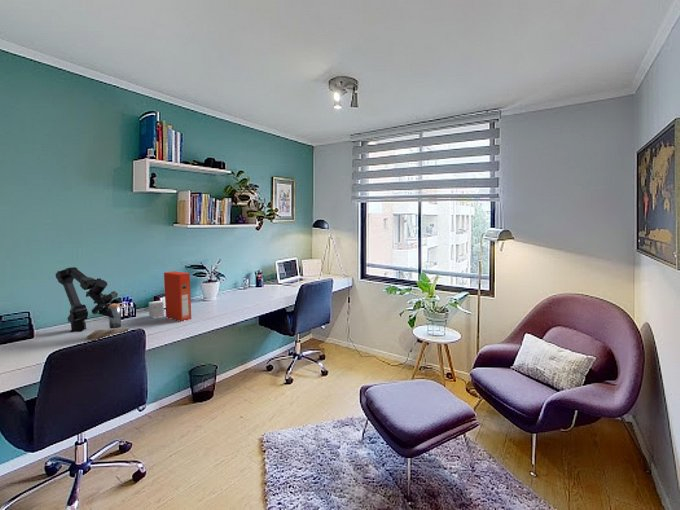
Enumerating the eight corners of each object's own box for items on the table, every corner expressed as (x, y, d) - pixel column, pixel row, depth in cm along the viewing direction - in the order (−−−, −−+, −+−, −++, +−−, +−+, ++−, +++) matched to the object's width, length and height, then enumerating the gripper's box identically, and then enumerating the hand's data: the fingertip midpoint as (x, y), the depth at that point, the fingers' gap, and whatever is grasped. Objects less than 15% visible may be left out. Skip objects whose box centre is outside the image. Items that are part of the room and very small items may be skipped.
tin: (107, 328, 210) (106, 308, 209) (111, 325, 216) (110, 306, 214) (119, 328, 211) (118, 308, 210) (122, 325, 217) (122, 305, 216)
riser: (87, 339, 206) (86, 336, 205) (95, 333, 216) (95, 330, 216) (122, 337, 210) (121, 334, 209) (128, 331, 220) (128, 328, 220)
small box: (160, 314, 260) (160, 300, 259) (164, 316, 256) (163, 301, 255) (148, 317, 253) (148, 302, 252) (152, 318, 250) (151, 303, 249)
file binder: (180, 321, 242) (179, 274, 239) (165, 317, 252) (163, 272, 248) (191, 319, 249) (189, 273, 246) (176, 315, 258) (174, 271, 255)
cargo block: (109, 308, 210) (109, 305, 210) (112, 306, 214) (112, 303, 214) (116, 307, 210) (116, 305, 210) (119, 306, 214) (119, 303, 214)
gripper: (95, 291, 202) (115, 311, 203) (117, 284, 220) (135, 303, 221) (82, 304, 203) (102, 324, 204) (105, 297, 222) (123, 315, 222)
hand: (117, 316), depth 213 cm, fingers closed on tin, 6 cm apart
